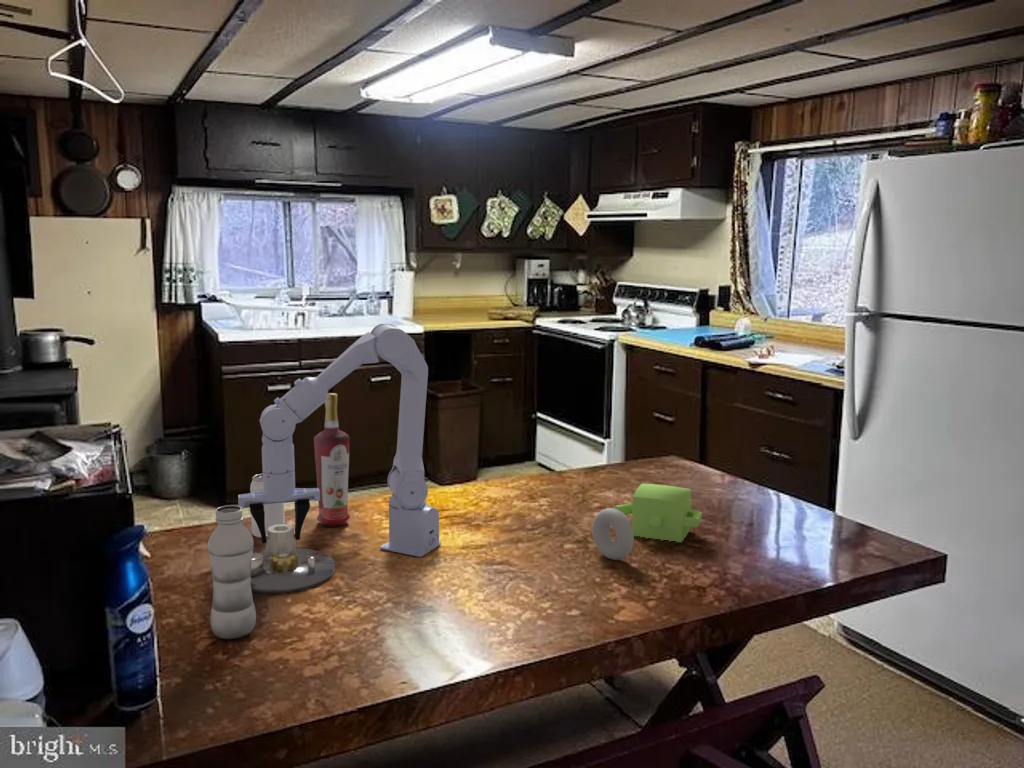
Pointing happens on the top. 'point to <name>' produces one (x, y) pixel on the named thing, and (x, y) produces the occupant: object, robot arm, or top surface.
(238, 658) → the top surface
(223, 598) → the plastic bottle
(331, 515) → the liquor
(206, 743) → the top surface
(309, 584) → the carrier
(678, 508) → the gearbox
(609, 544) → the donut
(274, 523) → the can
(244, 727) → the top surface
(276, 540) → the planet gear
